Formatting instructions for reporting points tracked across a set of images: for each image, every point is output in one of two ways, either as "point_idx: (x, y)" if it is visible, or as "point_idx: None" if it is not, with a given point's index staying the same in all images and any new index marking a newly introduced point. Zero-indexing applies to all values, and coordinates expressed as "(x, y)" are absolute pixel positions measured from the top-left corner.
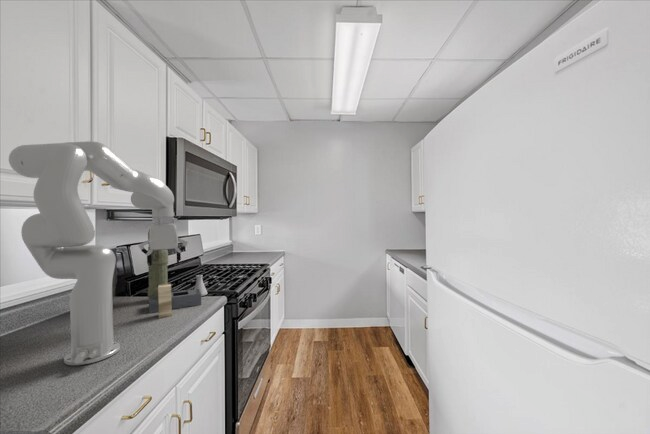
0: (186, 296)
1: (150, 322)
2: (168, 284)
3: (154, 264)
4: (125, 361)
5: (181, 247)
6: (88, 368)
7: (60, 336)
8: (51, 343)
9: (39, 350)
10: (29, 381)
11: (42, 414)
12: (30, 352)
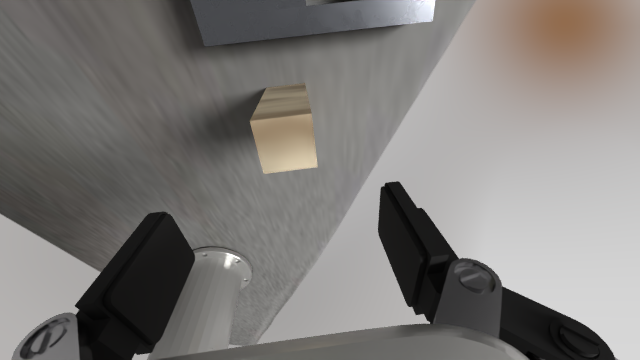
0: (365, 27)
1: None
2: (300, 128)
3: None
4: (274, 291)
5: (537, 352)
6: None
7: (56, 172)
8: (80, 207)
9: (90, 231)
10: None
11: (240, 338)
12: (79, 235)
